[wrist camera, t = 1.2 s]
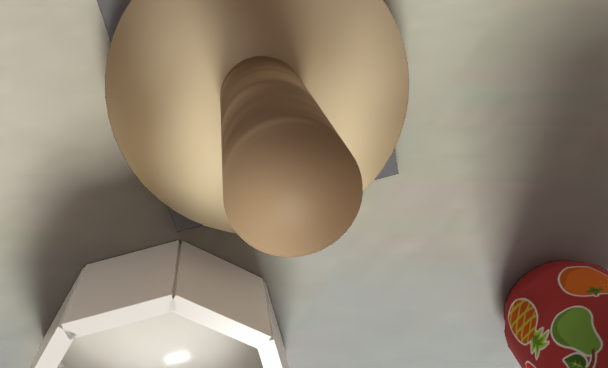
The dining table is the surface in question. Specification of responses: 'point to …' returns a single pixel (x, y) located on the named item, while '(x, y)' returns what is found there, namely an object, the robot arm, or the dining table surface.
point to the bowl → (164, 315)
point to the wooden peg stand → (259, 111)
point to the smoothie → (559, 316)
